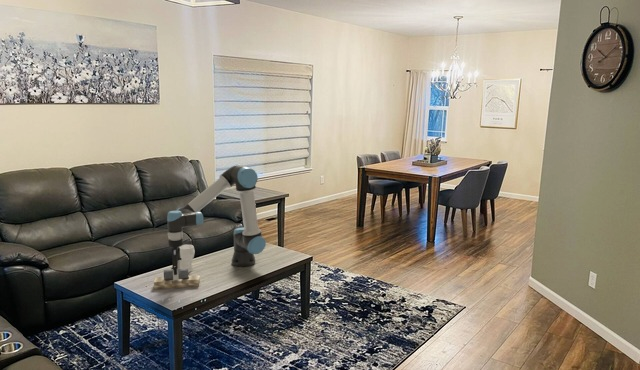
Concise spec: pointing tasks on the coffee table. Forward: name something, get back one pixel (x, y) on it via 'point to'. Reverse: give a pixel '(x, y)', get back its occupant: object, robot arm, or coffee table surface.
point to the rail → (177, 282)
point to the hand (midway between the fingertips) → (177, 275)
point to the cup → (186, 256)
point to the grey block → (181, 274)
